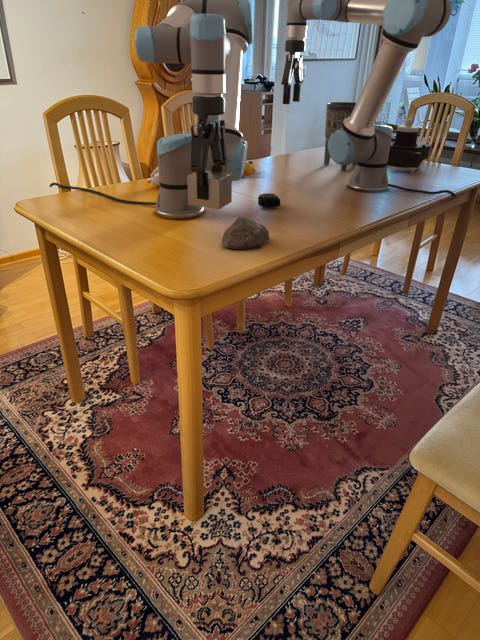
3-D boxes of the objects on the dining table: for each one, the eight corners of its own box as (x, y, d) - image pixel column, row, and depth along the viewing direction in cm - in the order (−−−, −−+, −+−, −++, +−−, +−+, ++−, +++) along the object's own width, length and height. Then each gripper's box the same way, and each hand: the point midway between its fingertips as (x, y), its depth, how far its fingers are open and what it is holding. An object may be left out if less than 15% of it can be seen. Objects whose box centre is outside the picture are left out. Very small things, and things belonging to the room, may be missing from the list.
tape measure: (259, 210, 148) (260, 198, 147) (256, 204, 154) (256, 193, 152) (280, 209, 149) (281, 198, 147) (275, 203, 155) (276, 192, 153)
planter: (313, 167, 208) (319, 103, 195) (331, 160, 222) (338, 101, 209) (353, 173, 199) (362, 107, 185) (369, 166, 213) (379, 104, 199)
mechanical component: (376, 119, 196) (405, 114, 216) (368, 169, 207) (396, 160, 227) (425, 124, 184) (451, 118, 204) (414, 176, 195) (439, 166, 215)
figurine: (184, 183, 177) (182, 149, 170) (157, 191, 166) (154, 155, 160) (168, 180, 181) (166, 147, 174) (141, 188, 170) (138, 152, 163)
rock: (255, 233, 128) (256, 211, 124) (276, 242, 122) (278, 219, 119) (217, 244, 120) (217, 220, 117) (239, 254, 115) (239, 230, 111)
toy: (224, 169, 185) (230, 160, 198) (230, 184, 188) (235, 175, 200) (250, 160, 182) (254, 152, 194) (255, 175, 185) (259, 167, 197)
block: (201, 197, 121) (200, 169, 117) (231, 202, 118) (231, 173, 114) (188, 204, 115) (187, 175, 111) (219, 209, 112) (219, 179, 108)
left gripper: (213, 91, 113) (214, 184, 125) (171, 97, 97) (176, 203, 109) (241, 93, 110) (239, 187, 122) (202, 99, 94) (204, 207, 106)
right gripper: (295, 40, 179) (291, 100, 190) (275, 38, 159) (272, 104, 170) (313, 41, 177) (308, 101, 188) (296, 38, 157) (291, 105, 168)
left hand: (210, 195), depth 115 cm, fingers closed on block, 7 cm apart
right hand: (291, 103), depth 179 cm, fingers open, 13 cm apart
